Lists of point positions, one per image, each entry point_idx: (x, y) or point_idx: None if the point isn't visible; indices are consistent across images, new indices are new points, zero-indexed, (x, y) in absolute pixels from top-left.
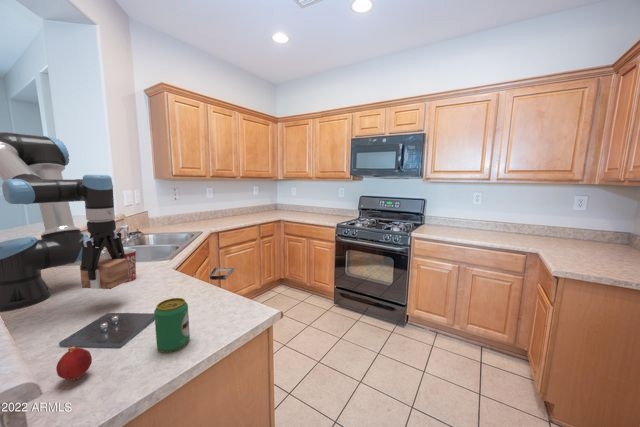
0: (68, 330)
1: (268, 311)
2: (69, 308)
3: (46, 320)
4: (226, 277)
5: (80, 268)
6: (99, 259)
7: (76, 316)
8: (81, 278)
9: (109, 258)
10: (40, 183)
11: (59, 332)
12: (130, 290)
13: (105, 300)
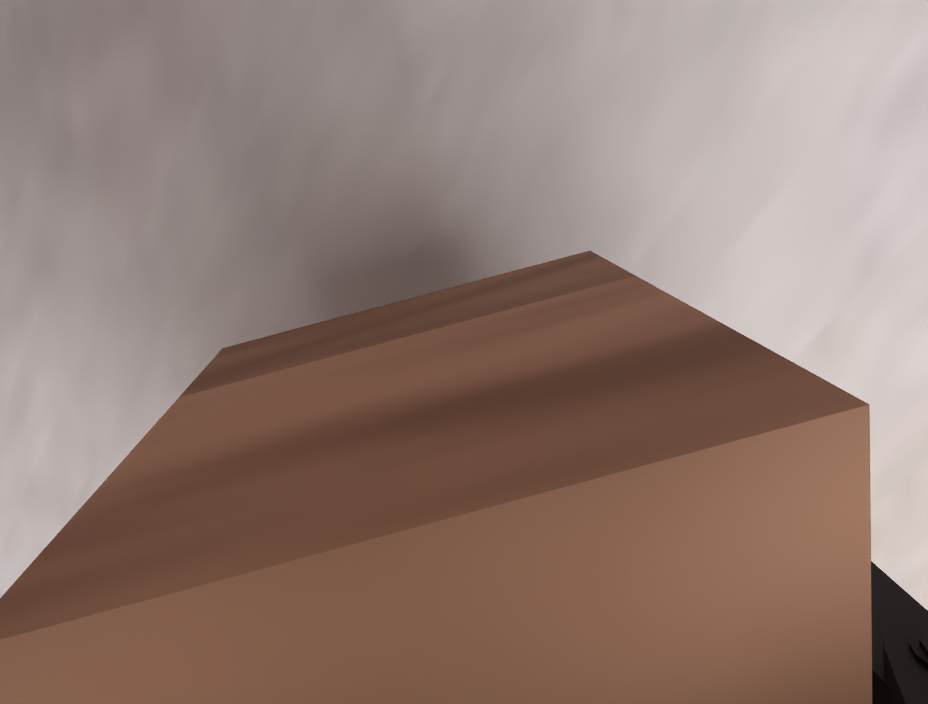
0: (57, 482)
1: None
2: (285, 17)
3: (40, 92)
4: None
5: (34, 576)
6: (714, 538)
7: (213, 292)
8: (166, 423)
9: (870, 691)
10: None
11: (7, 452)
12: (783, 214)
13: (532, 204)
